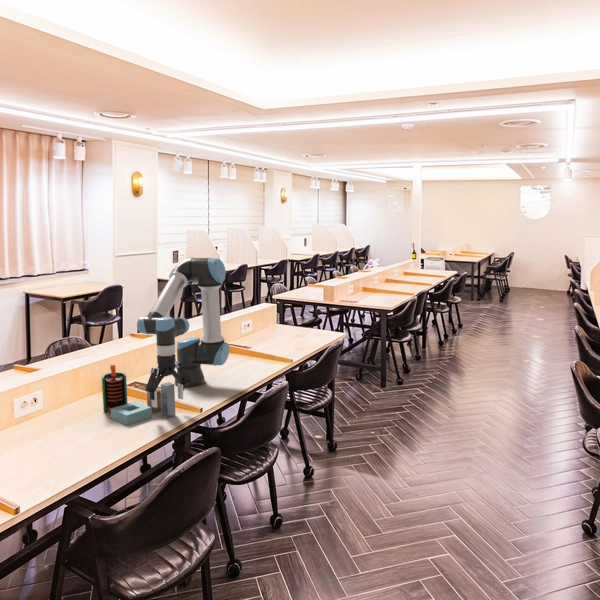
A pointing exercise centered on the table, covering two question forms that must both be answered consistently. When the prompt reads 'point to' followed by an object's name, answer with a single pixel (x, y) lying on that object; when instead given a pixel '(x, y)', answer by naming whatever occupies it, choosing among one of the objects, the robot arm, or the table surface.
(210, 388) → the table surface
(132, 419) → the socket block
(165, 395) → the square bit
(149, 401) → the round dowel
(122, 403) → the motor
